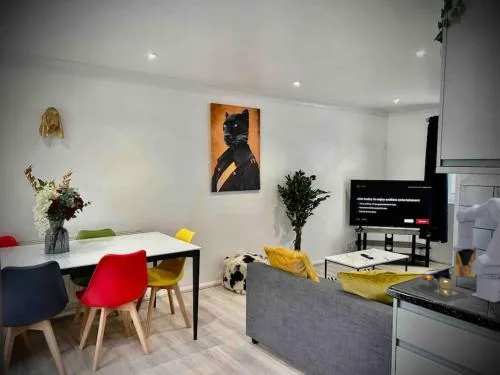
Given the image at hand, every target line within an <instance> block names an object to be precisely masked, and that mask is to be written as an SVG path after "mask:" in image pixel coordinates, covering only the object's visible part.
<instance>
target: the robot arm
mask: <svg viewBox="0 0 500 375" xmlns="http://www.w3.org/2000/svg"><path fill="white" fill-rule="evenodd" d="M486 213H490V214H491V216H492V219H493V220H494V222H495V223H497V226H496V228H495V231H494V233H493V235H492V237H491V240H490V242H489V244H488V246H487V248H486V249H485V252H484V253H483V254H481V255H478V256H477V257H476V260H475V261H474V262H473V264H472V269H473V272H474V273H475V276H476V292H475V293H472V294H471V296H472V297H476V298H479V299H482V300H486V301H489V302H491V303H497V302H500V197H491V198H488V199H487V201H486V202H484V203H481V205H480V204H477V203H474V204H472V205H471V206H470V207H466V209H459V210H457V211H456V216H455V218H456V221H457V222H458V243H456V244H455V245H456V246H452V251H453V252H454V251H456V252H458V254H459V256H460V259H461V263H462V265H464V266H468V264H469V261H470V258H471V256H472V255H473V253H474V250H471V249H474V248H475V249H476V250H477V249H479V246H478V244H477V243H474V227H475V226H476V221H477V220H478V219H480V218H483V217H484V216H485V215H486Z"/></svg>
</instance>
